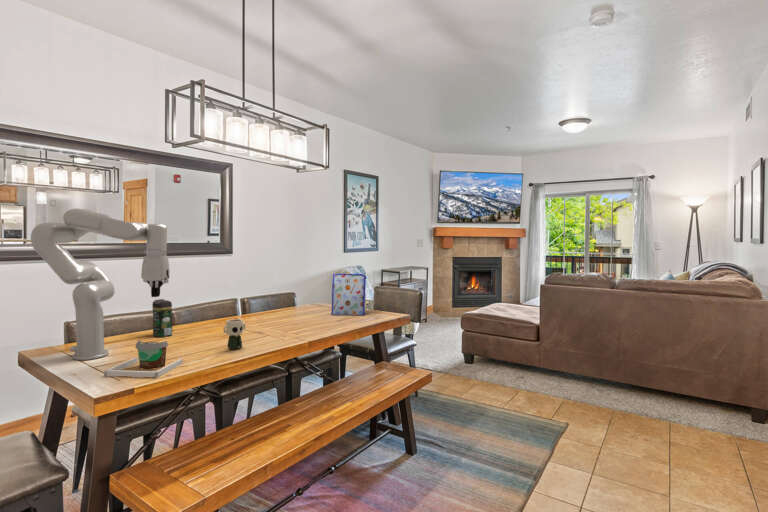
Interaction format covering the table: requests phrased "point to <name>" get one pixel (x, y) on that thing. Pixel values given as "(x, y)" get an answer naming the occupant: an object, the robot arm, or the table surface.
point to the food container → (151, 354)
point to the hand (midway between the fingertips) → (155, 296)
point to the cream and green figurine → (234, 332)
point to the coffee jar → (162, 318)
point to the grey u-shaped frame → (118, 372)
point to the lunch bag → (348, 294)
